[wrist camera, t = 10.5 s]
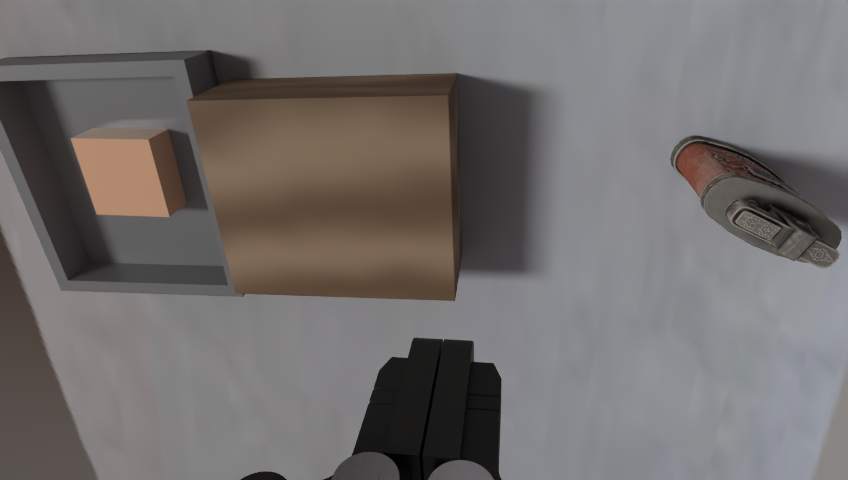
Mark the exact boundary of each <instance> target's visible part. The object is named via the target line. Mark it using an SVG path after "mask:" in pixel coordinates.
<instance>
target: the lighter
mask: <svg viewBox="0 0 848 480" xmlns="http://www.w3.org/2000/svg"><path fill="white" fill-rule="evenodd" d="M670 160H671V165H672V166H673V167H674V169H675V170H676V171H677V173H678V174H679V175H681V176H682V177H683V178H684V179H686V180H687V181H688V182H689V184H690V185H691V186H692V188H693V189H694V190H695V192H696V193H697V194H698V196H699V197H700V201H701V206H702V208H703V209H704V210H705V212H706V213H707V214H708V216H709V217H710V218H712V219H713V220H714V221H716V222H717V223H718V224H719V225H721V226H722V227H723V228H725V229H726V230H727V231H728V232H730V233H732V234H733V235H735V236H737V237H739V238H740V239H742V240H744V241H745V242H747V243H749V244H751V245H753V246H755V247H758V248H760V249H763V250H765V251H768V252H770V253H773V254H775V255H778V256H782V257H785V258H789V259H791V260H793V261H795V260H796V261H800V262H806V263H811V264H813V265H815V266H817V267H820V268H828V267H830V266H831V265H832V264H834V263H835V262H836V261H837V259H838V258H839V255H840V254H839V252H838V251H837V250H836V248H837V247H838V246H839V244H840V241H841V231H840V229H839V228H838V226H836V225H835V224H834V223H833V222H832V221H831V220H829V219H828V218H827V217H826V216H825V215H823V214H822V213H821V212H820V211H818V210H817V209H816V208H815V207H814V206H812V205H811V204H809V203H808V202H806V201H804V200H803V199H801V196H800V195H799V194H798V193H797V192H796V191H795V190H793V189H792V188H791V187H790V186H788V184H787V183H786V181H785V180H783V179H782V178H781V177H780V176H779V175H778V174H776V173H775V172H774V171H773V170H772V169H770V168H769V167H768V166H767V165H765V164H764V163H763V162H761V161H760V160H758V159H756V158H755V157H753V156H751V155H750V154H748V153H746V152H745V151H743V150H740V149H738V148H735V147H733V146H730V145H728V144H726V143H723V142H720V141H716V140H713V139H709V138H705V137H702V136H690V137H686V138H684V139H683V140H681V141H680V142H679V143H678V144H677V145H676V146H675V147H674V149H673V151H672V153H671V158H670Z"/></svg>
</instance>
